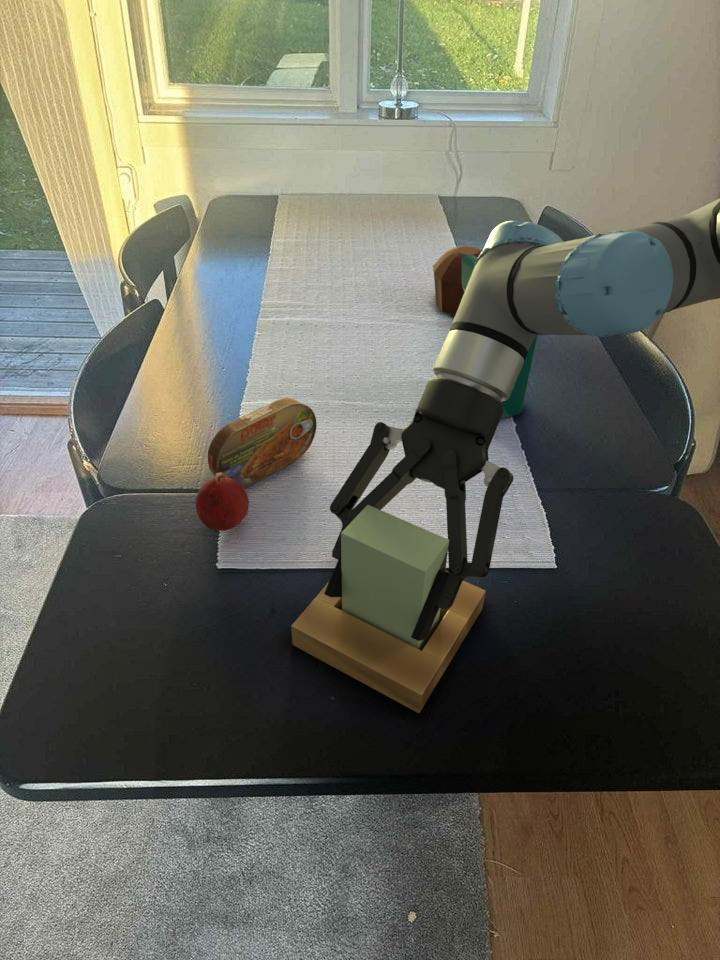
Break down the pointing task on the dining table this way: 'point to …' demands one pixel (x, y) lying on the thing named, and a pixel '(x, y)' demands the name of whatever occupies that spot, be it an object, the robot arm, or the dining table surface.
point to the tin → (262, 441)
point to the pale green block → (389, 572)
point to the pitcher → (520, 388)
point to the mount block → (386, 646)
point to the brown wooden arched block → (451, 278)
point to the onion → (222, 503)
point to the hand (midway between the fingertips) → (374, 616)
